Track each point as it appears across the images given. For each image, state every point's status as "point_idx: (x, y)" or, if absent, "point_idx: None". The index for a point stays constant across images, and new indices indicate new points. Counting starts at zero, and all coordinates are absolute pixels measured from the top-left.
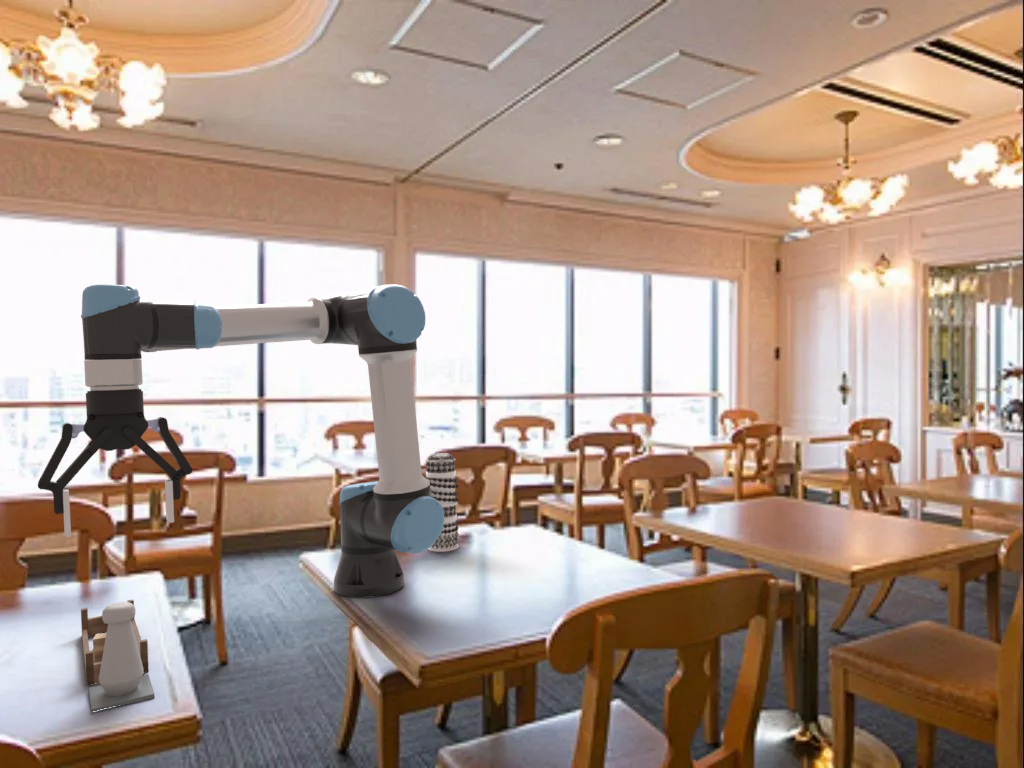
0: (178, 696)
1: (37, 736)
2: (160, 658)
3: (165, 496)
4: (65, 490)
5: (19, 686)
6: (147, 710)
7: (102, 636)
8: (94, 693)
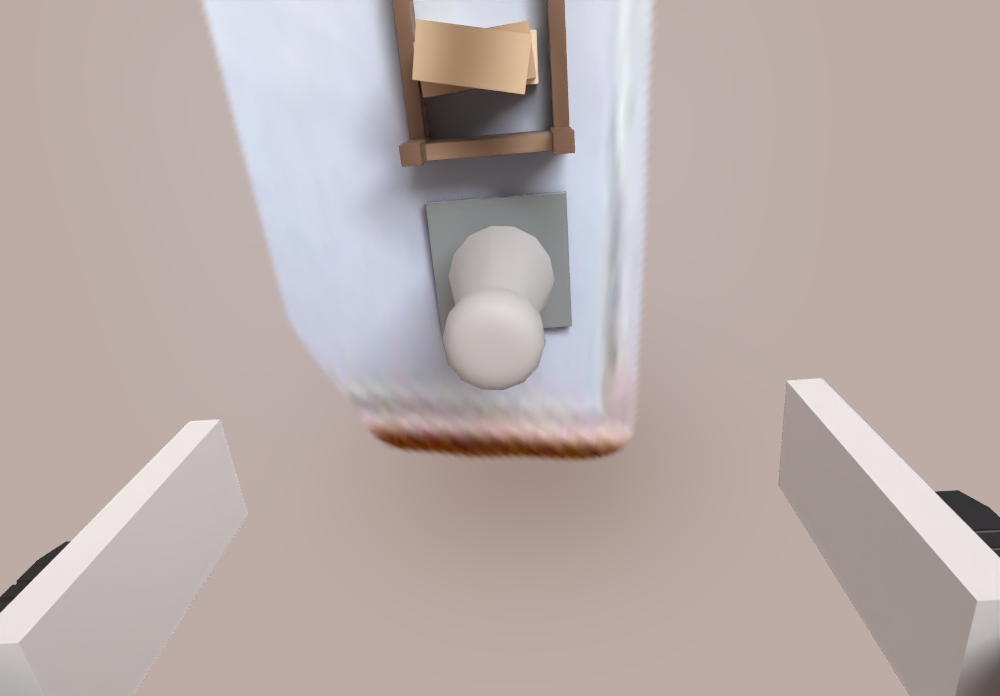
0: (620, 343)
1: (352, 379)
2: (607, 47)
3: (869, 486)
4: (15, 689)
5: (241, 49)
6: (553, 377)
7: (439, 64)
8: (441, 247)
